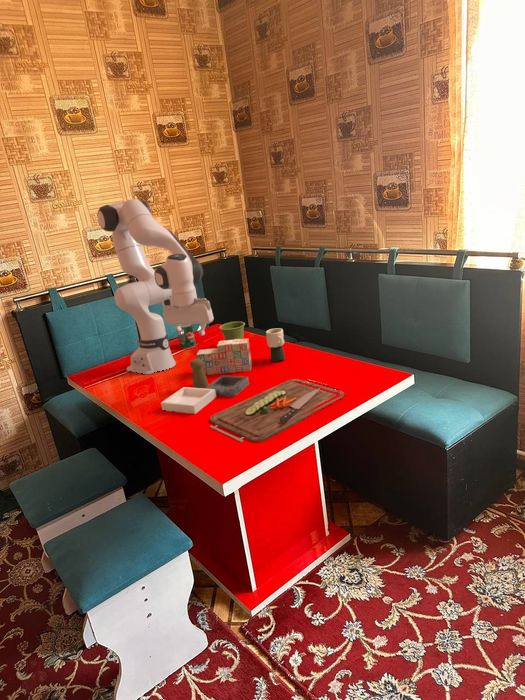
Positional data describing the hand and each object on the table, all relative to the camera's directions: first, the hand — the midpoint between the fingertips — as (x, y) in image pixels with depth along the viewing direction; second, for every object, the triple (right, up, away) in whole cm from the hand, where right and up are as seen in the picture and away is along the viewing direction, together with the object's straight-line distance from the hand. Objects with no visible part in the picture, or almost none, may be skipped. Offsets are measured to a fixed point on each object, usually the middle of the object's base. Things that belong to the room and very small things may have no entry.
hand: (191, 334), depth 191 cm
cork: (+3, -20, +7) cm, 21 cm away
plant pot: (+14, -5, +47) cm, 50 cm away
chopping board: (+32, -26, -21) cm, 46 cm away
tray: (0, -25, -8) cm, 26 cm away
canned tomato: (-10, -4, +61) cm, 62 cm away
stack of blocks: (+12, -15, +20) cm, 27 cm away
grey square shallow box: (+14, -21, 0) cm, 25 cm away
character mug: (+33, -10, +24) cm, 42 cm away
